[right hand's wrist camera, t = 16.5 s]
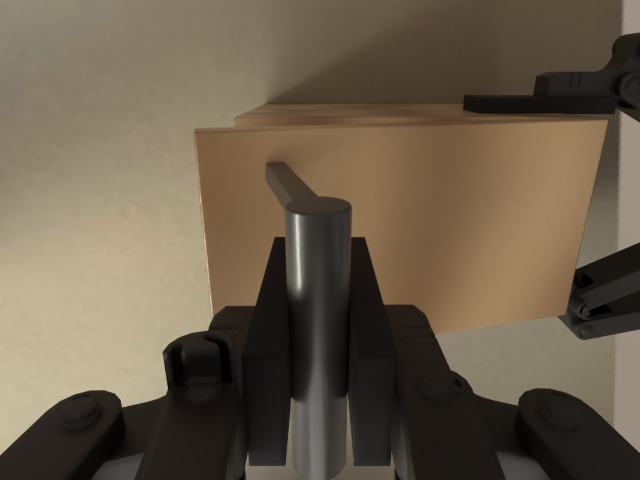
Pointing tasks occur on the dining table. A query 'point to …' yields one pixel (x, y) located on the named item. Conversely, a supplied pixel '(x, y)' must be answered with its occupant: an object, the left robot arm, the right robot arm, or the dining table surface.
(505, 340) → the dining table surface
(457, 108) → the chest
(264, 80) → the dining table surface
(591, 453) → the right robot arm
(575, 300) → the left robot arm
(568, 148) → the lid
